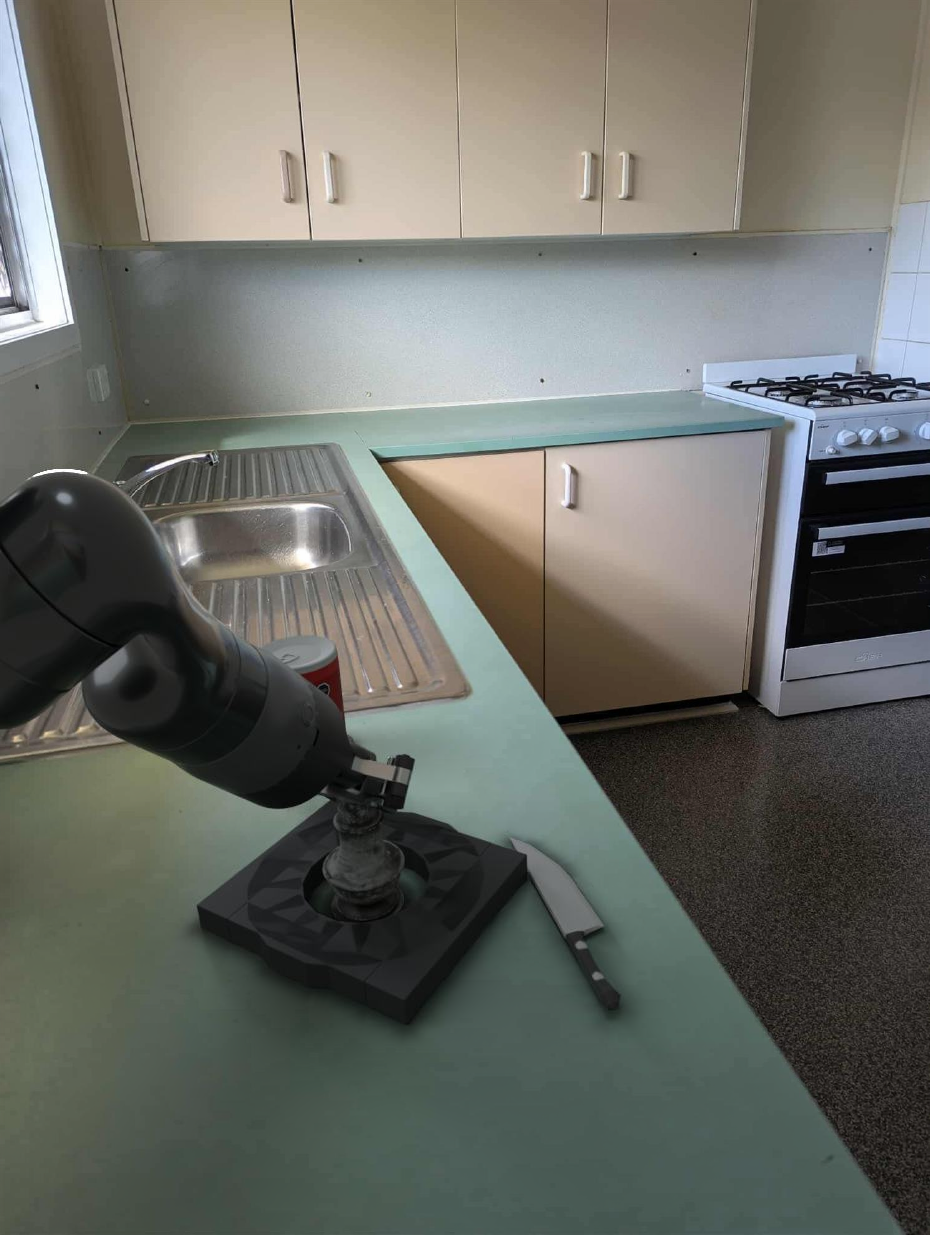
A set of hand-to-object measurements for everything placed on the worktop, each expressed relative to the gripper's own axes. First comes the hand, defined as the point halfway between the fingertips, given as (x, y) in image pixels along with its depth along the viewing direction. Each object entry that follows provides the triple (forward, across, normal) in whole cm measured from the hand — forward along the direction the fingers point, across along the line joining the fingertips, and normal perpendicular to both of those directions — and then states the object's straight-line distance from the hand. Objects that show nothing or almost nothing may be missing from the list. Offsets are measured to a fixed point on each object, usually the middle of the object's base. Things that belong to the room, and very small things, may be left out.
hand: (371, 795), depth 63 cm
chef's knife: (+7, +14, -5) cm, 16 cm away
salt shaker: (+4, 0, -7) cm, 8 cm away
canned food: (+16, -15, +5) cm, 23 cm away
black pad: (+4, 0, -7) cm, 8 cm away
